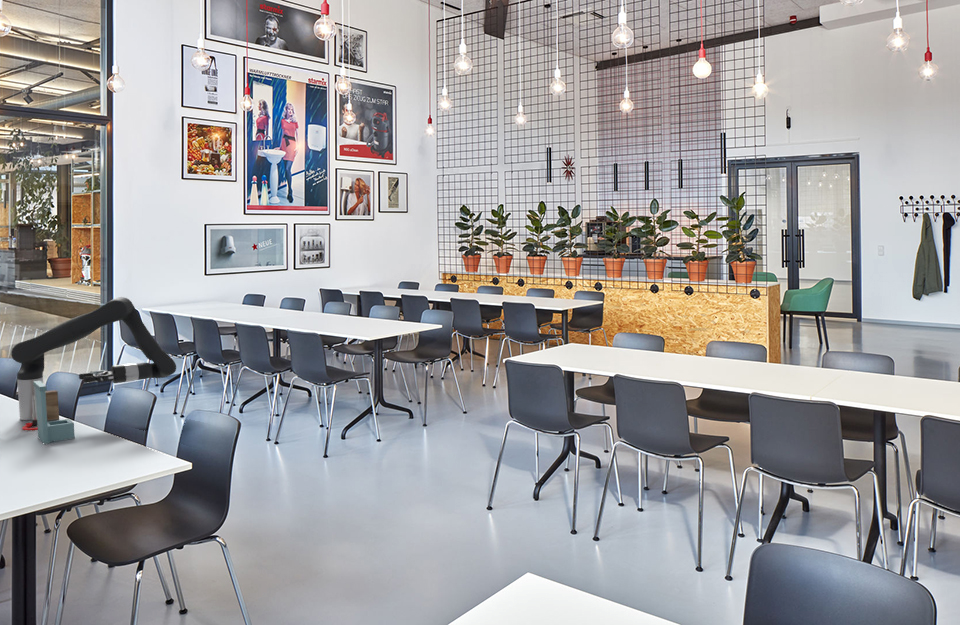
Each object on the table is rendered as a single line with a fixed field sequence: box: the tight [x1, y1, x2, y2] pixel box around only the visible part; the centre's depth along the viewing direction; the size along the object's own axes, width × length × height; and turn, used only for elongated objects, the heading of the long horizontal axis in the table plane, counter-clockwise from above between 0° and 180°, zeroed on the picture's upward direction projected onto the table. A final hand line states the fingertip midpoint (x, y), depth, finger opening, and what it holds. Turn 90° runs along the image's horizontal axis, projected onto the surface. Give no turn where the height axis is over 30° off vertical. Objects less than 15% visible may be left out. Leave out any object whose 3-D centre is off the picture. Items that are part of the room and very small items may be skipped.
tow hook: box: [21, 395, 38, 431], centre depth 290 cm, size 8×13×9 cm
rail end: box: [45, 389, 60, 422], centre depth 285 cm, size 4×4×16 cm
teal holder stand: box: [33, 381, 76, 445], centre depth 274 cm, size 14×11×22 cm
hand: (81, 378), depth 290 cm, fingers open, 8 cm apart
